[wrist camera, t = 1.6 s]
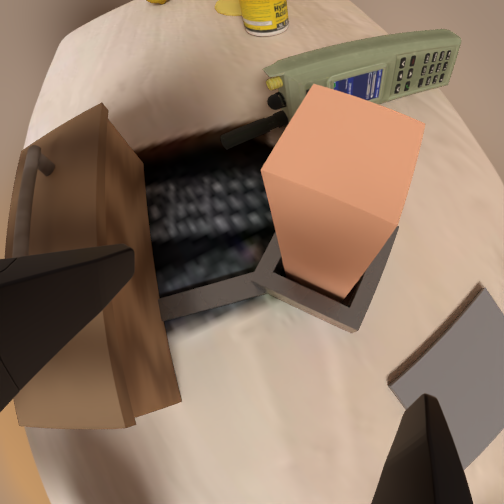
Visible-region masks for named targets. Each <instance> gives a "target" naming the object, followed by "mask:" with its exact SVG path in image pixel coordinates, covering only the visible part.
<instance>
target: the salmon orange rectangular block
mask: <svg viewBox="0 0 504 504" xmlns="http://www.w3.org/2000/svg"><path fill="white" fill-rule="evenodd" d="M424 128H425V123H422V122H420V121H418V120H415V119H413V118H411V117H408V116H406V115H404V114H401V113H399V112H396V111H394V110H391V109H389V108H386V107H384V106H381V105H378V104H376V103H373V102H370V101H367V100H364V99H361V98H359V97H356V96H353V95H350V94H346V93H343V92H340V91H337V90H334V89H330V88H327V87H323V86H320V85H316V84H313V85H312V87H311V88H310V90H309V92H308V93H307V95H306V96H305V98H304V100H303V101H302V103H301V104H300V106H299V108H298V109H297V111H296V113H295V114H294V116H293V117H292V119H291V121H290V122H289V124H288V126H287V127H286V129H285V130H284V132H283V134H282V135H281V137H280V139H279V140H278V142H277V144H276V145H275V147H274V149H273V150H272V152H271V154H270V155H269V157H268V159H267V160H266V162H265V164H264V165H263V167H262V169H261V173H262V177H263V181H264V185H265V189H266V193H267V197H268V201H269V206H270V210H271V214H272V218H273V222H274V226H275V231H276V235H277V239H278V244H279V248H280V252H281V257H282V261H283V265H284V270H285V274H286V278H287V279H290V280H292V281H294V282H296V283H298V284H300V285H302V286H305V287H307V288H309V289H311V290H313V291H315V292H318V293H320V294H322V295H324V296H326V297H328V298H331V299H333V300H335V301H337V302H339V303H341V302H342V301H343V299H344V298H345V297H346V296H347V294H348V293H349V292H350V290H351V289H352V288H353V287H354V285H355V284H356V283H357V281H358V280H359V279H360V277H361V276H362V275H363V273H364V272H365V271H366V269H367V268H368V267H369V265H370V264H371V263H372V261H373V260H374V258H375V257H376V256H377V254H378V253H379V251H380V250H381V249H382V247H383V246H384V244H385V243H386V242H387V240H388V239H389V237H390V236H391V234H392V233H393V231H394V230H395V228H396V227H397V225H398V222H399V219H400V216H401V213H402V210H403V207H404V204H405V200H406V197H407V194H408V190H409V187H410V183H411V180H412V176H413V173H414V169H415V165H416V161H417V158H418V154H419V150H420V145H421V141H422V137H423V133H424Z"/></svg>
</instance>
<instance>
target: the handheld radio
mask: <svg viewBox="0 0 504 504" xmlns="http://www.w3.org/2000/svg"><path fill="white" fill-rule="evenodd" d="M460 44H461V38H460V37H459V36H457V35H456V34H454V33H453V32H451V31H450V30H447V29H437V30H425V31H414V32H406V33H398V34H391V35H384V36H378V37H372V38H366V39H361V40H356V41H351V42H346V43H342V44H337V45H333V46H329V47H325V48H321V49H317V50H313V51H309V52H306V53H302V54H298V55H295V56H292V57H288V58H285V59H282V60H278V61H277V62H276V63H274V64H273V65H271V66H268V67H266V68H264V69H263V70H264V72H265V73H266V74H267V75H268V76H269V77H273V78H270V79H267V81H266V84H267V86H268V88H269V89H270V90H274V89H277V88H278V91H279V92H277V93H275V94H274V95H271V96H270V97H269V98H268V101H267V102H268V105H269V107H270V108H271V109H274V110H277V109H280V108H281V111H279V112H277V113H274V114H273V115H272V116H270V117H267V118H263V119H260V120H257V121H255V122H252V123H250V124H247V125H245V126H242V127H240V128H237V129H235V130H233V131H230V132H228V133H226V134H223V135H221V142H222V145H223V146H224V147H225V148H226V149H230V148H232V147H234V146H236V145H239V144H241V143H243V142H246V141H248V140H250V139H253V138H255V137H258V136H260V135H262V134H265V133H267V132H270V130H272V129H274V128H277V127H279V128H280V127H282V126H285V125H286V126H288V124H289V122H290V121H291V119H292V117H293V116H294V114H295V113H296V111H297V109H298V108H299V106H300V104H301V103H302V101H303V100H304V98H305V96H306V95H307V93H308V92H309V90H310V88H311V87H312V85H313V84H316V85H320V86H323V87H327V88H330V89H334V90H337V91H340V92H343V93H346V94H350V95H353V96H356V97H359V98H361V99H364V100H367V101H370V102H373V103H376V104H381V103H384V102H387V101H391V100H394V99H397V98H401V97H404V96H408V95H411V94H415V93H419V92H422V91H426V90H430V89H434V88H438V87H442V86H446V85H448V83H449V80H450V77H451V74H452V71H453V68H454V65H455V61H456V58H457V55H458V51H459V48H460ZM275 76H276V77H275ZM278 95H279V96H278Z"/></svg>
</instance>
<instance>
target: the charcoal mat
mask: <svg viewBox="0 0 504 504" xmlns="http://www.w3.org/2000/svg"><path fill="white" fill-rule="evenodd" d="M388 386H389V388H390V389H391V390H392V392H393V393H394V394H395V396H396V397H397V398H398V400H399V401H400V402H401V404H402V405H403V407H404V408H405V409H406V410H407V408H408V407H409V406H410V405H411V404H413V403H414V402H415V401H416V400H417V399H418V398H419V397H420V396H421V395H422V394H424V393H427V394H430V395H432V396H435V397H436V398H437V399H438V401H439V404H440V406H441V409H442V411H443V414H444V416H445V419H446V421H447V424H448V427H449V429H450V432H451V435H452V437H453V440H454V443H455V446H456V449H457V452H458V455H459V458H460V461H461V464H462V467H463V470H465V469H466V468H467V467H468V466H469V465H470V464H471V463H472V462H473V461H474V460H475V459H476V458H477V457H478V456H479V455H480V454H481V453H482V452H483V451H484V450H485V448H486V447H487V446H488V445H489V444H490V443H491V442H492V441H493V440H494V439H495V438H496V436H497V435H498V434H499V433H500V432H501V431H502V430H503V428H504V315H503V313H502V312H501V310H500V309H499V307H498V306H497V304H496V303H495V301H494V300H493V298H492V297H491V295H490V294H489V292H488V291H487V289H486V288H483V289H481V290H480V291H479V293H478V294H477V295H476V296H475V298H474V299H473V300H472V301H471V302H470V304H469V305H468V306H467V307H466V308H465V309H464V311H463V312H462V313H461V314H460V315H459V316H458V317H457V319H456V320H455V321H454V322H453V323H452V324H451V325H450V326H449V327H448V328H447V330H446V331H445V332H444V333H443V334H442V335H441V336H440V337H439V338H438V339H437V340H436V341H435V342H434V343H433V344H432V345H431V346H430V347H429V348H428V349H427V350H426V351H425V352H424V353H423V354H422V355H421V356H420V357H419V358H418V359H417V360H416V361H415V362H414V363H413V364H412V365H410V366H409V367H408V368H407V369H406V370H405V371H404V372H403V373H402V374H401V375H400V376H398V377H397V378H396V379H395V380H394V381H393V382H392V383H390V384H389V385H388Z"/></svg>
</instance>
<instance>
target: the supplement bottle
mask: <svg viewBox="0 0 504 504" xmlns="http://www.w3.org/2000/svg"><path fill="white" fill-rule="evenodd" d="M239 3H240V8H241V12H242V17H243V22H244V26H245V29H246V31H247V32H248V33H249V34H252V35H255V36H273V35H277V34H280V33H282V32H284V31H285V30H286V29H287V28H288V25H289V21H288V11H287V1H286V0H239Z"/></svg>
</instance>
